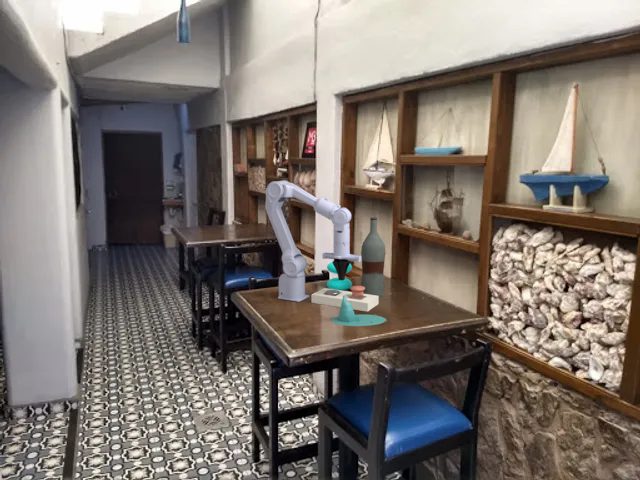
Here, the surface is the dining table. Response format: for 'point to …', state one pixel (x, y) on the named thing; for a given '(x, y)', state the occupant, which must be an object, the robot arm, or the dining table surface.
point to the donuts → (337, 283)
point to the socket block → (357, 303)
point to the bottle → (373, 262)
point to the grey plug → (332, 292)
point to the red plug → (357, 291)
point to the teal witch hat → (355, 316)
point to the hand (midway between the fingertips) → (341, 279)
